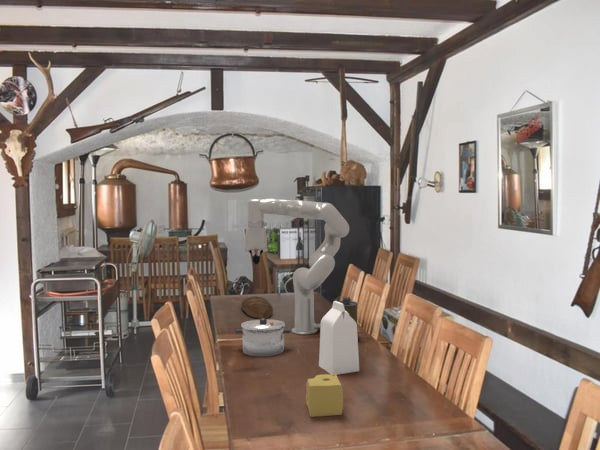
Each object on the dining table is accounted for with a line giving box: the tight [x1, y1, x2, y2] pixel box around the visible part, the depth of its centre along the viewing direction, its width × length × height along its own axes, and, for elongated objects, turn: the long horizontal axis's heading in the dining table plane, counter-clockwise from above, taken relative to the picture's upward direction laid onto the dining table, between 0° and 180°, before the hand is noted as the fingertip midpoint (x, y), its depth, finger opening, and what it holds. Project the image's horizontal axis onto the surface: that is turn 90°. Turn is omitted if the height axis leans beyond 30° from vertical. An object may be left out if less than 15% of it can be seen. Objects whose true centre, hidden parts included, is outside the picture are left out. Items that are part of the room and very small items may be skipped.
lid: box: [240, 318, 286, 331], centre depth 235 cm, size 19×20×3 cm
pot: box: [235, 327, 292, 357], centre depth 235 cm, size 24×18×10 cm
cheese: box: [305, 373, 344, 418], centre depth 170 cm, size 10×11×10 cm
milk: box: [318, 300, 360, 376], centre depth 210 cm, size 12×12×26 cm
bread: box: [241, 295, 274, 320], centre depth 310 cm, size 16×36×8 cm, turn 17°
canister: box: [338, 296, 359, 325], centre depth 249 cm, size 11×10×20 cm
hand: (256, 263), depth 254 cm, fingers closed
